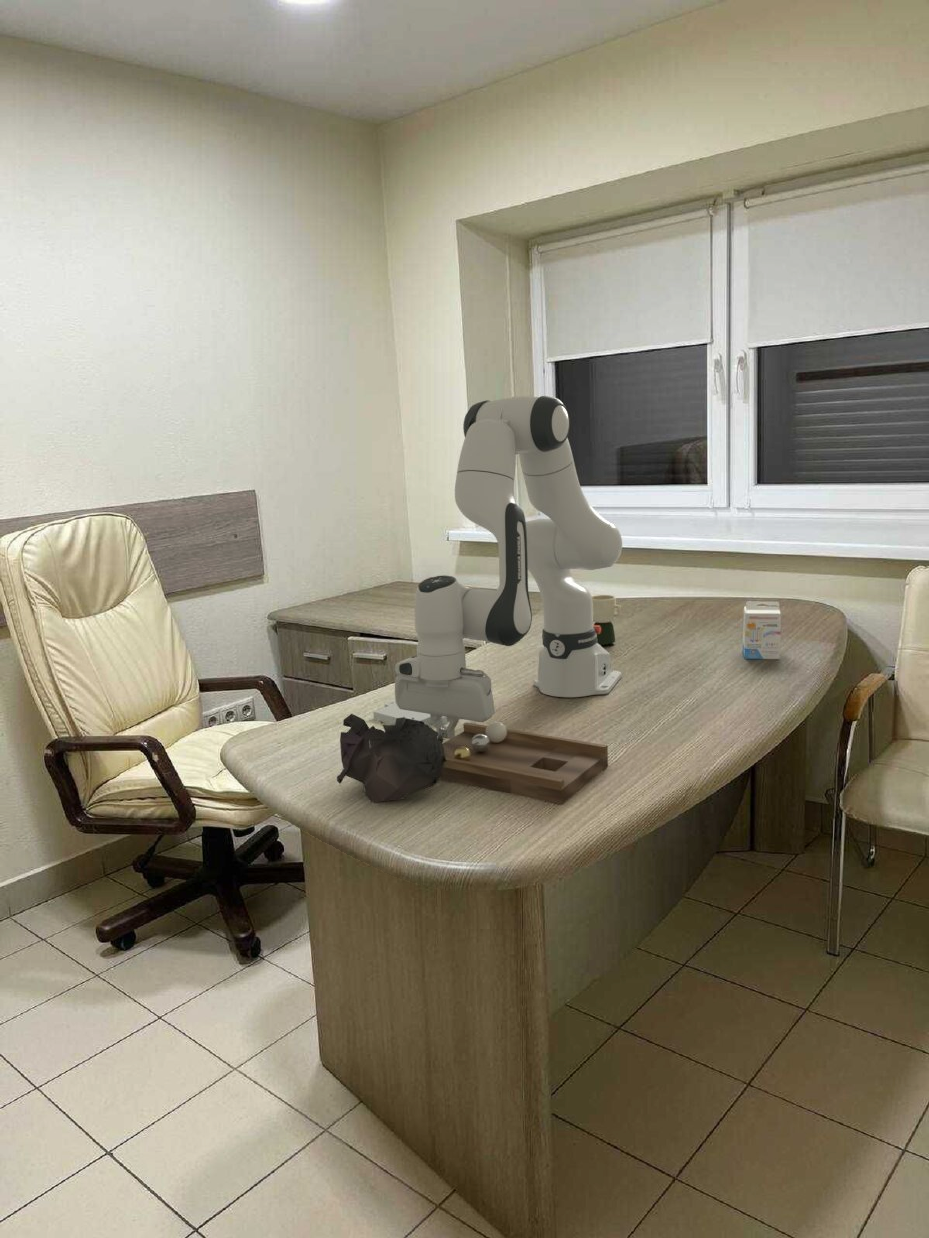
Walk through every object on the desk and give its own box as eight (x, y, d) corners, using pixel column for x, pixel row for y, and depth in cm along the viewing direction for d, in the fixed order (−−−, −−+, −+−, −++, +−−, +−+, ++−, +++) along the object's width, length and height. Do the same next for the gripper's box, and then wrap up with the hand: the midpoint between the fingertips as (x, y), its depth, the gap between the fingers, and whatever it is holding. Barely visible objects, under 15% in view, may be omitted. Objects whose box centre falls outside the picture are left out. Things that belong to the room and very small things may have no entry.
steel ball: (478, 747, 168) (477, 730, 168) (493, 750, 167) (492, 732, 166) (468, 753, 166) (467, 735, 165) (484, 756, 164) (483, 738, 163)
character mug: (628, 643, 246) (627, 596, 243) (615, 649, 241) (614, 601, 238) (592, 639, 253) (591, 593, 250) (579, 645, 247) (578, 598, 244)
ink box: (744, 659, 225) (744, 606, 222) (742, 650, 233) (742, 599, 230) (780, 659, 223) (781, 606, 220) (777, 650, 231) (778, 599, 228)
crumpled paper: (323, 803, 152) (433, 823, 145) (323, 718, 150) (435, 733, 142) (363, 779, 165) (465, 795, 157) (364, 700, 162) (468, 713, 155)
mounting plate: (366, 717, 198) (365, 709, 198) (409, 702, 207) (408, 694, 207) (424, 733, 186) (423, 724, 185) (467, 716, 195) (466, 708, 195)
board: (467, 741, 179) (466, 722, 178) (608, 766, 162) (607, 745, 162) (413, 773, 164) (411, 752, 163) (561, 804, 148) (560, 781, 147)
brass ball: (460, 758, 163) (459, 743, 163) (474, 761, 162) (473, 745, 161) (451, 764, 161) (450, 748, 160) (465, 767, 159) (464, 751, 158)
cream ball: (493, 737, 173) (492, 717, 172) (511, 740, 171) (510, 720, 170) (481, 744, 170) (480, 723, 169) (500, 747, 168) (499, 726, 167)
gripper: (499, 667, 164) (502, 739, 166) (408, 656, 175) (412, 724, 178) (480, 676, 158) (484, 751, 161) (387, 664, 170) (392, 734, 172)
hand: (446, 737), depth 170 cm, fingers closed
